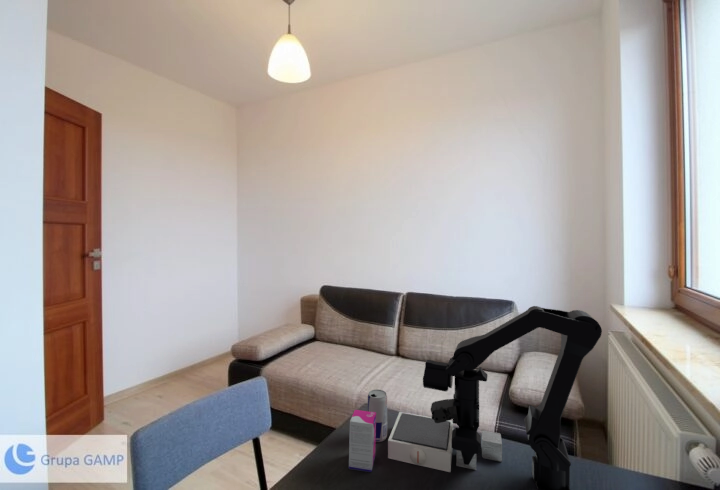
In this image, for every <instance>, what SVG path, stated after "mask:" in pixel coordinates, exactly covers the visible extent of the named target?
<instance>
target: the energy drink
mask: <svg viewBox="0 0 720 490" xmlns="http://www.w3.org/2000/svg"><path fill="white" fill-rule="evenodd" d="M367 411H369V412H376V443H382V442H385V440H387V438H388V396H387V392H386V391H385V390H383V389H372V390H370V391H368V394H367Z"/></svg>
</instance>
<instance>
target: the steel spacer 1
mask: <svg viewBox="0 0 720 490" xmlns="http://www.w3.org/2000/svg"><path fill="white" fill-rule="evenodd" d="M455 456H456V467H460V468H466V469H469V470H474V471H477V454H474V456H473V458H472V460H471V462H470V463H469V465H466V464H464V462H463V458H462V453H461V451H459V450H456V454H455Z"/></svg>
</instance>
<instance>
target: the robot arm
mask: <svg viewBox="0 0 720 490" xmlns="http://www.w3.org/2000/svg"><path fill="white" fill-rule="evenodd" d="M539 328H541V329H545V330H548V331H551V332H554V333H557V334H560V335H561V336H560V338H561V339H560V349H559V351H558V355H557V358H556V360H555V363H554V366H553V368H552V372H551V374H550V376H549V380H548V382H547V384H546V385H547V386H546V388H545V391H544V393H543V397H542V400H541V402H540V404H539V405H538V406H536V407H534V406H532V405H531V404H529V406H528V413H527V415H526V416H525V417H524V421H523V422H524V427H525V433H526V435H527V440H528V445H529V446H530V448H531V449H532V450H533V451H534V455H533V456H531V475H532V479H533V481H534V482H535V485H536V488H537V490H571V489H570V485H571V484H570V482H571V481H570V479H571V478H570V477H571V475H570V474H571V469H570V468H571V465H572V462H571V459H570V457H569V454H568V449H567V447H566V444H565V441H564V439H563V438H562V437H561V428H562V427H561V424H562V416H563V413H564V410H565V407H566V404H567V403H568V400H569V397H570V394H571V392H572V389H573V386H574V384H575V381H576V378H577V376H578V373H579V370H580V368H581V365H582V362H583V361H584V358H585V357H586V356H587V355H588V354H590V353H591V351H592V350H593V349H594V348H595V346H596V345H597V343H598V342H599V340H600V338H601V336H602V333H603V330H602V327H601V325H600V324H599V321H597V320H596V319H595V318H594V317H592V316H591V315H590V314H589V313H588V312H586V311H583V310H581V309H580V310H579V309H574V310H570V311H565V310H562V309H561V310H560V309H555V308H553V309H552V308H545V307H541V306H538V305H533V306H530V307H528V309H526V311H523V312H522V313H520V314H518V315H516V316H515V317H512V318H511V319H510V320H508V321H506V322H504V323H502V324H501V325H500V324H499V326H497V327H495V328H493V329H492V330H490V331H488V332H486V333H485V334H481V335H477V336H473V337H470V338H469V337H468V338H467V339H464V340H462V341H460V342H459V343H458V344H457V345H456V348H455V350H454V353H453V355H452V356H451V357H450V358H449V360H448V362H440V361H435V360H432V359H426V361H425V362H424V363H425V365H424V372H423V375H422V376H423V377H422V387H423V389H424V388H425V389H430V390H435V391H441V392H448V391H449V389H452V387H453V381H454V393H453V396H452V397H453V398H450V399H449V398H446V399H442V400H436V401H433V402H432V403H431V404H430V405H431V406H430V412H431V417H432V419H433V420H434V421H435V423H441V422H446V421H448V420H450V421H453V425H454V424H455V425H457V427H455V428H453V431H452V450H456V451H457V450H459V451H461V453H462V458H463V462H464V464H466V465H469V463H470V462H471V460H472V458H473V456H474V454H476V455H482V435H481V434H480V433H479V432H478V430H479V428H480V382H487V381H488V373H487V372H486V371H485V370H484V369H483V368H482V367H481V366H480V365H481V364H483V363H484V362H485V361H486V360H487V359H488V358H489V357H490V356H491V355H492V354H493V353H494V352H496V351H498V350H500V349H502V348H503V347H505V346H507V345H508V344H510V343H512V342H514V341H516V340H518V339H520V338H521V337H523V336H526V335H528V334H529V333H531V332H532V331H534V330H537V329H539ZM453 379H454V380H453Z"/></svg>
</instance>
